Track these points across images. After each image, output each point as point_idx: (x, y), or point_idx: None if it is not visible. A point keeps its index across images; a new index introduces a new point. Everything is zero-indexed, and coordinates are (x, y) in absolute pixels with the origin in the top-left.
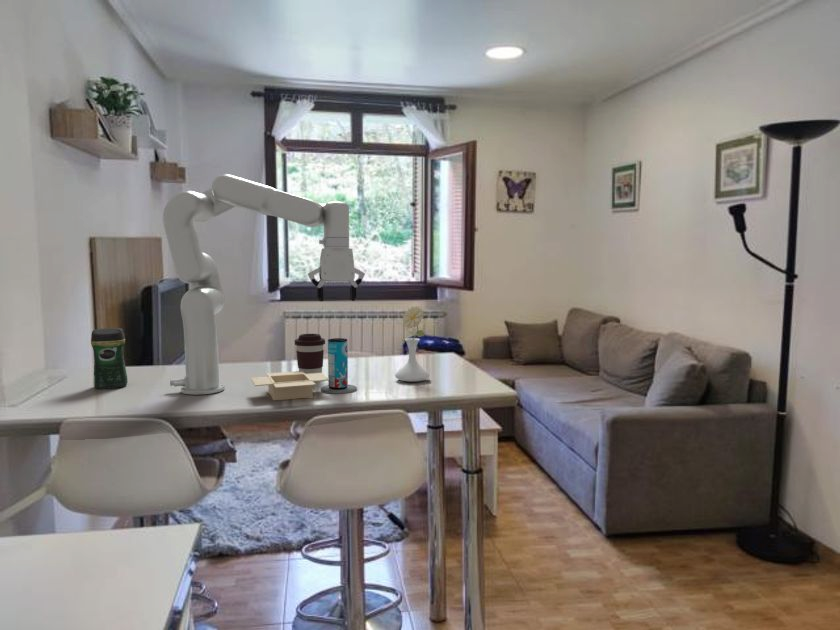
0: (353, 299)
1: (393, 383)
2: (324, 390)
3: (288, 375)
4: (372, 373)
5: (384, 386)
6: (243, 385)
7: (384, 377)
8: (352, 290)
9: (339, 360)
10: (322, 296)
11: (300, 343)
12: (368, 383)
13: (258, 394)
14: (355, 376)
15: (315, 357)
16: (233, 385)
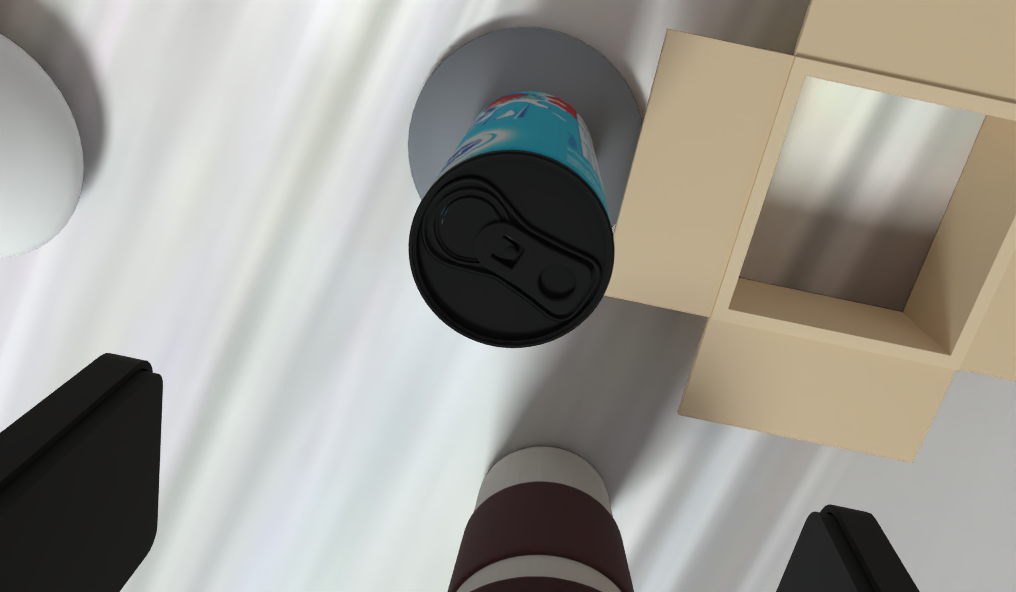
0: (128, 361)
1: (134, 129)
2: (636, 136)
3: (830, 328)
4: None
5: (221, 79)
6: (926, 552)
7: (125, 319)
8: (7, 505)
9: (543, 122)
10: (873, 569)
11: None
12: (282, 219)
13: None
14: (278, 434)
15: (541, 524)
16: (968, 578)
